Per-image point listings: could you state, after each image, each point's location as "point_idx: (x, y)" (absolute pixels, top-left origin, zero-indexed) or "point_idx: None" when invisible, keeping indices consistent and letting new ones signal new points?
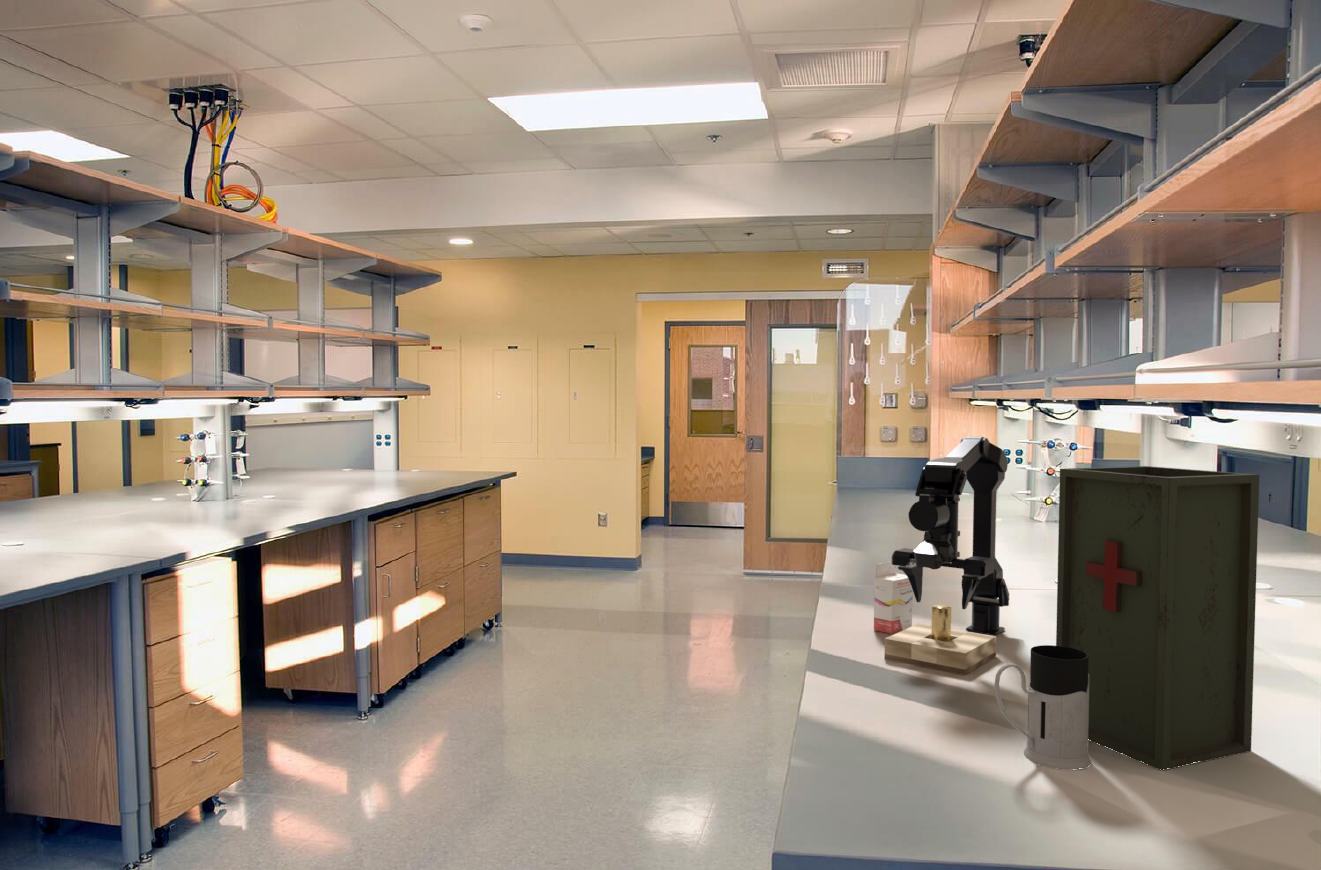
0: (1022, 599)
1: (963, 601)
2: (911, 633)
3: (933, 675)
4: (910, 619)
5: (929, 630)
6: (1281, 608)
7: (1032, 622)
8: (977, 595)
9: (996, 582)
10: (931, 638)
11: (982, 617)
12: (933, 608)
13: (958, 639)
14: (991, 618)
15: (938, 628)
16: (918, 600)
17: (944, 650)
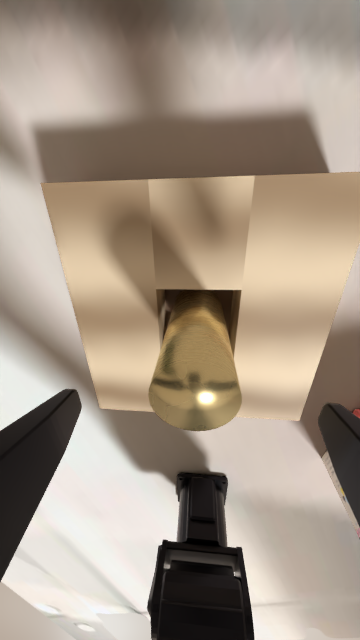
0: None
1: (34, 416)
2: (293, 315)
3: (137, 105)
4: (333, 473)
5: (252, 375)
6: (38, 599)
7: (167, 531)
8: (208, 567)
9: (158, 622)
10: (221, 311)
11: (196, 505)
12: (222, 367)
13: (148, 335)
14: (185, 508)
15: (193, 316)
16: (332, 409)
17: (119, 181)
